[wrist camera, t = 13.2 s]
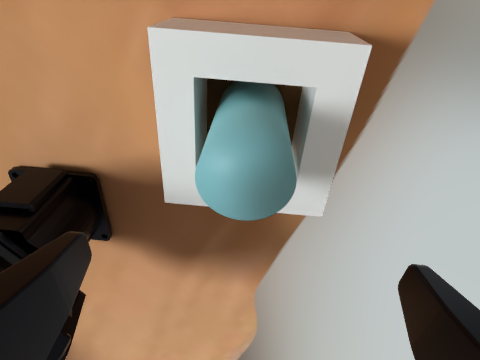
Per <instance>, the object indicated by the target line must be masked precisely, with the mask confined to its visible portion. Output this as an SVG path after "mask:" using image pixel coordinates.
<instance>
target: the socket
mask: <svg viewBox="0 0 480 360" xmlns="http://www.w3.org/2000/svg"><path fill="white" fill-rule="evenodd" d="M148 37H149V47H150V57H151V68H152V78H153V88H154V98H155V108H156V118H157V128H158V138H159V148H160V158H161V168H162V179H163V189H164V199H165V203H175V204H186V205H197V206H208V205H207V204H206V203H205V202H204V201H203V199H202V198H201V196H200V195H199V193H198V190H197V187H196V184H195V171H196V166H197V163H198V161H199V158H200V155H201V152H202V150H203V147H204V144H205V141H206V138H207V78H210V79H222V80H233V81H245V82H257V83H269V84H281V85H293V86H302V91H301V96H300V102H299V107H298V113H297V118H296V124H295V129H294V135H293V140H292V145H291V147H292V153H293V159H294V164H295V170H296V177H297V182H296V188H295V192H294V194H293V196H292V198H291V199H290V201H289V202H288V203H287V205H286V206H285V207H284V208H282V209H281V210H280V211H278V212H277V213H285V214H296V215H307V216H319V217H322V215H323V212H324V208H325V205H326V202H327V199H328V195H329V192H330V188H331V185H332V182H333V178H334V175H335V171H336V168H337V164H338V161H339V158H340V154H341V151H342V147H343V144H344V141H345V137H346V134H347V130H348V127H349V124H350V120H351V117H352V113H353V110H354V106H355V103H356V100H357V96H358V93H359V89H360V86H361V83H362V79H363V76H364V72H365V69H366V66H367V62H368V59H369V55H370V52H371V49H372V45H371V44H369V43H367V42H366V41H364V40H362V39H360V38H359V37H357V36H355V35H353V34H352V33H350V32H345V31H332V30H320V29H308V28H296V27H283V26H271V25H259V24H246V23H234V22H222V21H210V20H197V19H185V18H173V17H172V18H169V19H167V20H164V21H161V22H159V23H156V24H154V25H151V26H149V27H148ZM208 207H209V206H208Z"/></svg>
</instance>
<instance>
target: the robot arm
mask: <svg viewBox="0 0 480 360" xmlns="http://www.w3.org/2000/svg"><path fill="white" fill-rule="evenodd" d="M8 174H9V177H10V179H11V181H12V182H11V183H10V184H9V185H7V186H6V187H5V188H4V189H2V190H1V191H0V360H65V358H66V356H67V354H68V352H69V349H70V346H71V343H72V339H73V336H74V333H75V329H76V326H77V323H78V319H79V316H80V313H81V309H82V306H83V303H84V299H85V296H86V295H85V294H84V293H83V292H82V291H80V290H79V289H80V286H81V284H82V281H83V279H84V276H85V274H86V271H87V269H88V266H89V264H90V261H91V256H92V254H91V249H90V246H89V243H88V242H89V241H90V239H93V240H104V241H108V240H110V238H111V237H112V230H111V226H110V222H109V217H108V213H107V209H106V205H105V201H104V197H103V193H102V189H101V185H100V181H99V178H98V177H97V176H96V175H95V174H92V173H82V172H71V171H63V170H55V169H44V168H33V167H30V168H27V167H13V168H12V169H10V170H9V172H8ZM90 179H91V180H92V181H93V182H92V181H90ZM398 291H399V296H400V301H401V305H402V310H403V314H404V319H405V323H406V328H407V332H408V337H409V341H410V345H411V348H412V351H413V355H414V358H415V360H480V310H479V309H478V308H477V307H475V306H474V305H473V304H472V303H471V302H470V301H468V300H467V299H466V298H465V297H464V296H462V295H461V294H460V293H459V292H458V291H457V290H455V289H454V288H453V287H452V286H450V285H449V284H448V283H447V282H446V281H445V280H444V279H442V278H441V277H440V276H439V275H437V274H436V273H435V272H434V271H433V270H432V269H430V268H429V267H428V266H425V265H416V264H411V265H410V266H408V268H407V270H406V271H405V273H404V275H403V276H402V278H401V280H400V281H399V285H398Z"/></svg>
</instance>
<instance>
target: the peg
mask: <svg viewBox="0 0 480 360" xmlns="http://www.w3.org/2000/svg"><path fill="white" fill-rule="evenodd" d="M296 182H297V177H296V170H295V164H294V159H293V153H292V147H291V141H290V136H289V130H288V124H287V118H286V113H285V107H284V101H283V98H282V95H281V93H280V91H279V90H278V89H277V87H276V86H275V85H273V84H269V83H257V82H245V81H234V82H233V83H231V84H230V85H229V86H228V87H227V88H226V90H225V91H224V93H223V95H222V97H221V100H220V102H219V105H218V108H217V111H216V114H215V116H214V119H213V122H212V125H211V127H210V130H209V133H208V136H207V138H206V141H205V144H204V147H203V150H202V152H201V155H200V158H199V161H198V163H197V166H196V171H195V184H196V187H197V190H198V193H199V195H200V196H201V198H202V199H203V201H204V202H205V203H206V204H207V205H208V206H209V207H210V208H212V209H213V210H214V211H216V212H217V213H219V214H221V215H223V216H226V217H229V218H232V219H236V220H247V221H249V220H258V219H263V218H266V217H269V216H271V215H273V214H275V213H277V212H278V211H280V210H281V209H282V208H284V207H285V206H286V205H287V203H288V202H289V201H290V199H291V198H292V196H293V194H294V192H295V188H296Z"/></svg>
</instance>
